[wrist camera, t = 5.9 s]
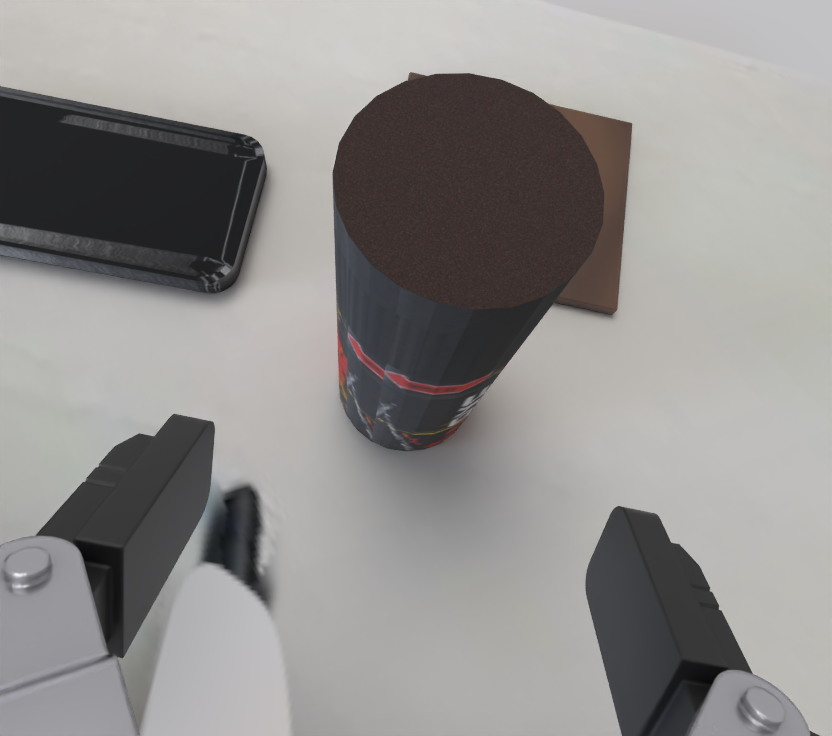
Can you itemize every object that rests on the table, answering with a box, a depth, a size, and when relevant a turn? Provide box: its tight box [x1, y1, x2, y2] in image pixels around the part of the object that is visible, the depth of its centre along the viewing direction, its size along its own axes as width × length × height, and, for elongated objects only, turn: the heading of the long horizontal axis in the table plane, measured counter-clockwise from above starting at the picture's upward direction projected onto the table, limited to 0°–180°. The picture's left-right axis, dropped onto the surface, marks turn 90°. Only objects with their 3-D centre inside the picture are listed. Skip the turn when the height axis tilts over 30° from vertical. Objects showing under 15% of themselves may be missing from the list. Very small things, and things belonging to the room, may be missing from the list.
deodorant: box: [333, 73, 604, 451], centre depth 21 cm, size 6×6×15 cm
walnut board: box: [408, 72, 632, 314], centre depth 31 cm, size 12×11×1 cm
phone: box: [0, 86, 267, 293], centre depth 28 cm, size 8×1×15 cm
